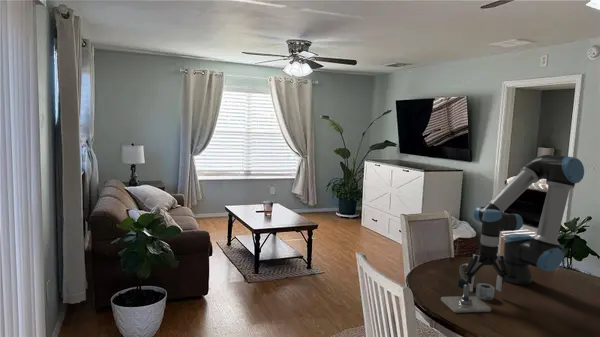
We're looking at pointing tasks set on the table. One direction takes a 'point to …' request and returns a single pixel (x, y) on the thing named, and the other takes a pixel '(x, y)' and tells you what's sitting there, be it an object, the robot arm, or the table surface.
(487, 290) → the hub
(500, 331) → the table surface
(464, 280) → the watch
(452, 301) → the block
